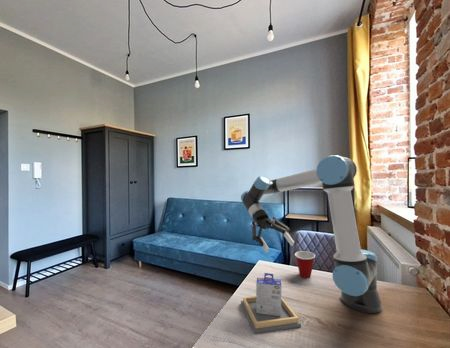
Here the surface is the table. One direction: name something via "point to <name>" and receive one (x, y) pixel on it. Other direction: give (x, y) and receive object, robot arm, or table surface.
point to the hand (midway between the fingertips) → (280, 247)
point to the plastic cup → (305, 263)
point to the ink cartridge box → (268, 296)
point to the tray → (269, 317)
